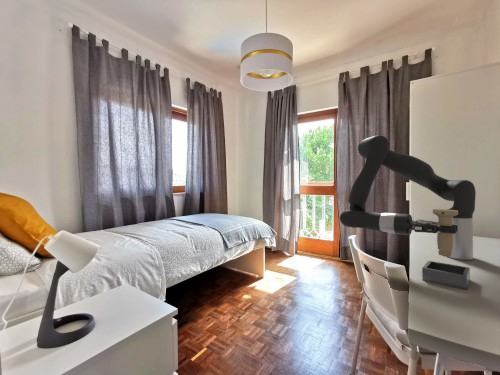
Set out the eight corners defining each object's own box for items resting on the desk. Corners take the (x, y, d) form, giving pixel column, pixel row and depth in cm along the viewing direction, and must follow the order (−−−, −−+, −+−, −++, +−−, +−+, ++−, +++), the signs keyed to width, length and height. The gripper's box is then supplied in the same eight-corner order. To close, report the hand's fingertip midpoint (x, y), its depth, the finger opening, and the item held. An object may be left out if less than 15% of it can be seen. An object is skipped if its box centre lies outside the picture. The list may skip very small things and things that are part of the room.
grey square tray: (429, 271, 85) (428, 260, 85) (469, 279, 77) (469, 267, 77) (422, 280, 77) (422, 267, 77) (467, 290, 69) (466, 276, 69)
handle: (455, 259, 73) (455, 211, 73) (430, 254, 78) (430, 209, 78) (459, 256, 76) (459, 210, 76) (435, 252, 81) (435, 208, 81)
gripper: (389, 214, 83) (454, 219, 70) (400, 211, 92) (459, 215, 80) (389, 236, 83) (453, 245, 70) (400, 230, 92) (459, 237, 80)
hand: (456, 229), depth 75 cm, fingers closed on handle, 3 cm apart
